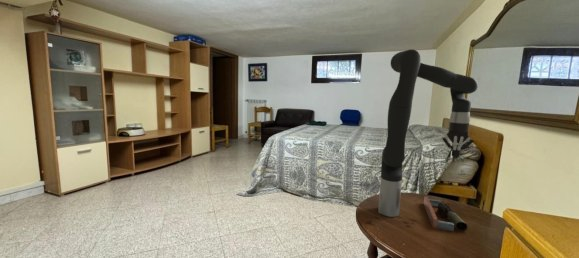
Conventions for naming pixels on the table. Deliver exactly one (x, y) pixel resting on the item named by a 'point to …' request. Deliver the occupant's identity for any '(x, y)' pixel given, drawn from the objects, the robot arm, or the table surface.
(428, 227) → the table surface
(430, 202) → the brown pull handle
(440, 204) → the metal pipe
